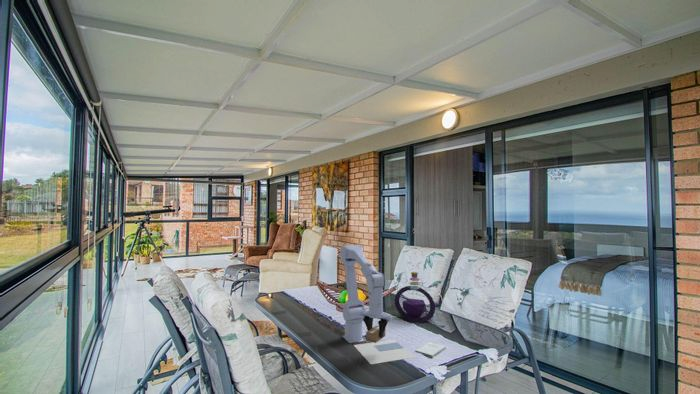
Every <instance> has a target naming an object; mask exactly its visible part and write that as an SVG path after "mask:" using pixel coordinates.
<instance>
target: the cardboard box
mask: <svg viewBox="0 0 700 394" xmlns="http://www.w3.org/2000/svg"><path fill="white" fill-rule="evenodd" d="M372 327H373V328H372V329H370V330H369V331H368V330H367V331H365V342H368V343H372V342H374V343H377V342H379V341H381V340H382V339H384V337H386V329H385V330H384V334H383V337H382V338H380V336H379V325H374V326H372Z"/></svg>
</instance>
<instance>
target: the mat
mask: <svg viewBox="0 0 700 394" xmlns="http://www.w3.org/2000/svg"><path fill="white" fill-rule="evenodd" d="M353 346H354V347H355V349H356V350H357V351H358V352H359V353H360V354H361V356H363V357H364V359H365V360H366V361H367V362H368V363H369V364H370V365H376V364H380V363H382V364H383V363H388V362H394V361H400V360H406V359H412V358H416V356H415V355H414V354H413V353H411V352H410V350H408V349H406V348H405V347H404V346H403V345H401V344H400V343H399V342H398V341H397V340H396V339H388V340H382V341H381V340H379V341H378V342H377V343H374V342H367V343H359V344H354V345H353Z"/></svg>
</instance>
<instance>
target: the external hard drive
mask: <svg viewBox="0 0 700 394" xmlns="http://www.w3.org/2000/svg"><path fill="white" fill-rule="evenodd" d="M444 350H446V346H445V345H443V344H438V343H435V342H430V341H429V342H426V343H425V344H423V345H422V346H420V347H419V348H417V349H416V350H414V352H416V353H419V354H421V355H423V356H425V357H428V358H431V359H433V358H435V357H436V356H437V355H439V354H440V353H442V352H443V351H444ZM434 356H435V357H434Z"/></svg>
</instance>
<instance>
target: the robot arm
mask: <svg viewBox="0 0 700 394" xmlns="http://www.w3.org/2000/svg"><path fill="white" fill-rule="evenodd" d="M339 255H340V263H341V264H342V265H343V266H344V268H343V269H344V275H345V282H346V292H347V300H346V301H345V303H343V305H342V317H343V319H344V321H345V322H344V335H342V338H343V339H344V340H345V341H347V343H349V344H352V343H359V342H360V343H361V342H366V339H364V338H363V323H364V325H365V327H366V330H367V331H369V330H370V329H372V328H373V327H374V326H373V323H374V319H377V320H378V321H377V324H378V326H379V336H380V338H382V337H383V334H384V330H385V331H386V327H387V324H388V323H390V322H392V321H393V320H394V319H393V318H394V316H393V315H390V314H388V313H384V309H383V307H384V301H383V299H384V298H383V296H384V292H383V290H384V287H385V285H386V276H385V275H384V273H382V272H380V271H379V272H378V270H377V269H376V267H375V266H374V265H373V263H372V262H369V261H368V260H367V258H366V256H365V255H364V247H363V246H362V244H360V243H359V244H348V245H345V244H343V245H341V247H340V250H339ZM356 264H358V266H360V272H361V273H362V275H363V277H364V278H365V282H366V286H367V292H368V310H366V307H365V302H364V301H362V300H361V299H359V292H358V284H357V283H358V282H357V275H356V267H355V265H356ZM383 338H384V337H383ZM383 338H382V339H383Z"/></svg>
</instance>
